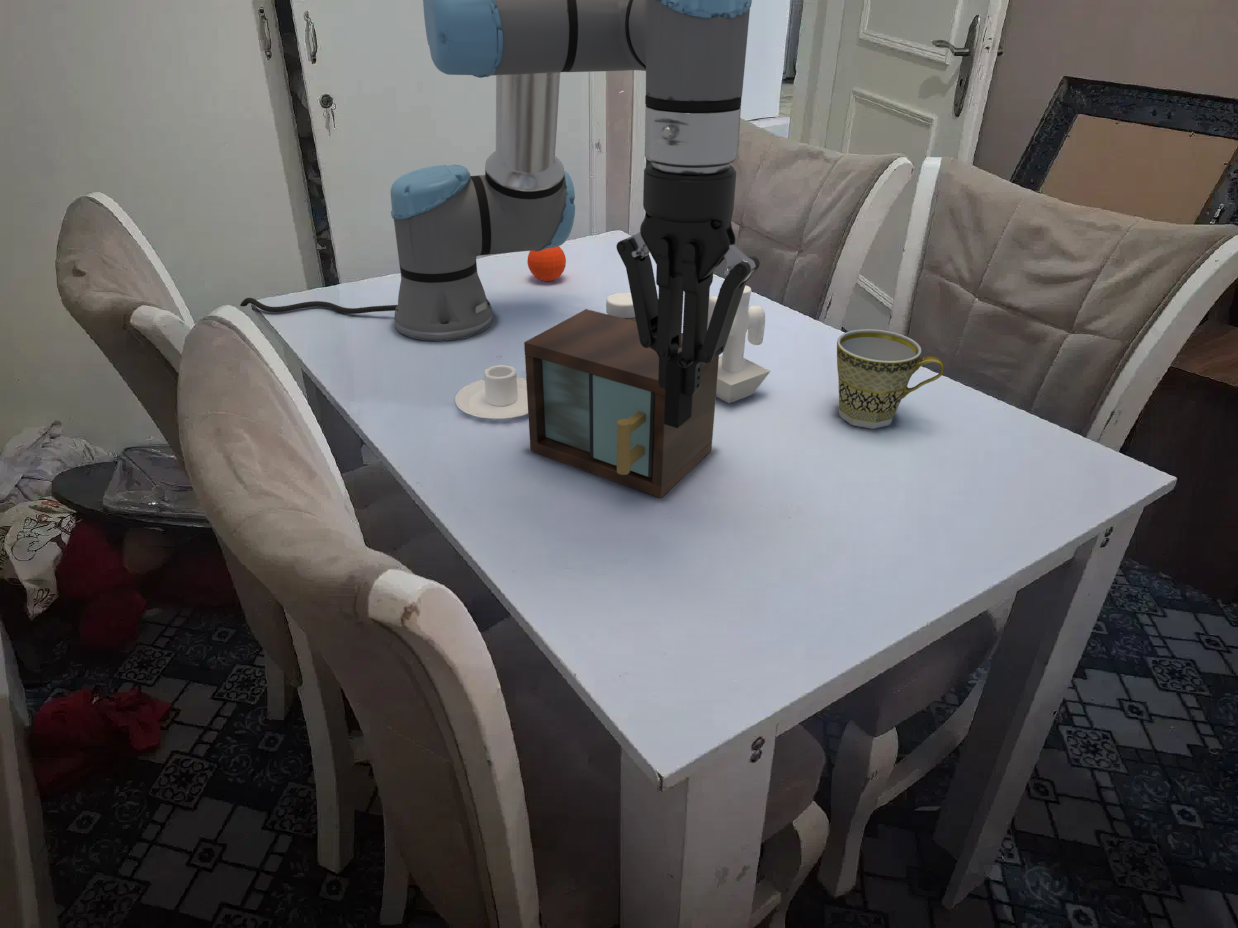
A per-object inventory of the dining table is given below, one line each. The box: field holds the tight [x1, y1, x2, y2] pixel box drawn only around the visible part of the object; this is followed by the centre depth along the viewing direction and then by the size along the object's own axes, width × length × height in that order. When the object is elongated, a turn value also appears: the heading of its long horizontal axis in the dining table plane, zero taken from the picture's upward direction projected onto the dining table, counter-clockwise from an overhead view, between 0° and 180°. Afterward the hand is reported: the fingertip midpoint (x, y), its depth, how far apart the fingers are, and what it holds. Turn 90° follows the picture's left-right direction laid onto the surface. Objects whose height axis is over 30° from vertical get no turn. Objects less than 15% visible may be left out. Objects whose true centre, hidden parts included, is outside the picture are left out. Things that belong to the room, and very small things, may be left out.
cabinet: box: [523, 308, 720, 499], centre depth 93 cm, size 18×12×14 cm, turn 57°
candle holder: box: [454, 364, 528, 420], centre depth 107 cm, size 12×12×4 cm
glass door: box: [589, 373, 655, 478], centre depth 87 cm, size 8×5×10 cm, turn 57°
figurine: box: [707, 284, 771, 404], centre depth 106 cm, size 7×9×15 cm
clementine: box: [526, 246, 567, 282], centre depth 147 cm, size 8×7×7 cm
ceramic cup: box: [836, 328, 945, 430], centre depth 102 cm, size 13×10×10 cm
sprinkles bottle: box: [605, 292, 636, 321], centre depth 107 cm, size 5×5×14 cm
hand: (677, 420), depth 78 cm, fingers closed
